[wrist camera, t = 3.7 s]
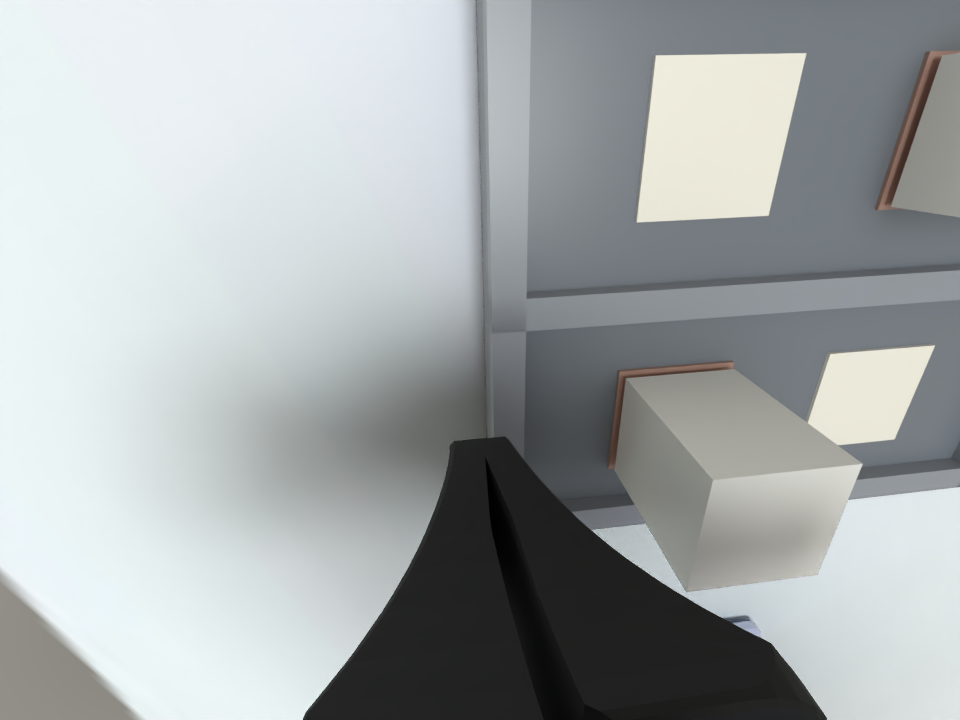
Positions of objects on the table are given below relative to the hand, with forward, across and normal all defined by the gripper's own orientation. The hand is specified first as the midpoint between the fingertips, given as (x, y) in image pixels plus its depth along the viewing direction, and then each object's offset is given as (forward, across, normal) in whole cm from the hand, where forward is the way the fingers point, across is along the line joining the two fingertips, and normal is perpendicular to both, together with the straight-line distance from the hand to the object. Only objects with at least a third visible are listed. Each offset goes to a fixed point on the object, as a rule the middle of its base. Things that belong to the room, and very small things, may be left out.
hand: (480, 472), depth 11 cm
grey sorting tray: (+3, -8, -4) cm, 10 cm away
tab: (+1, -5, 0) cm, 6 cm away
